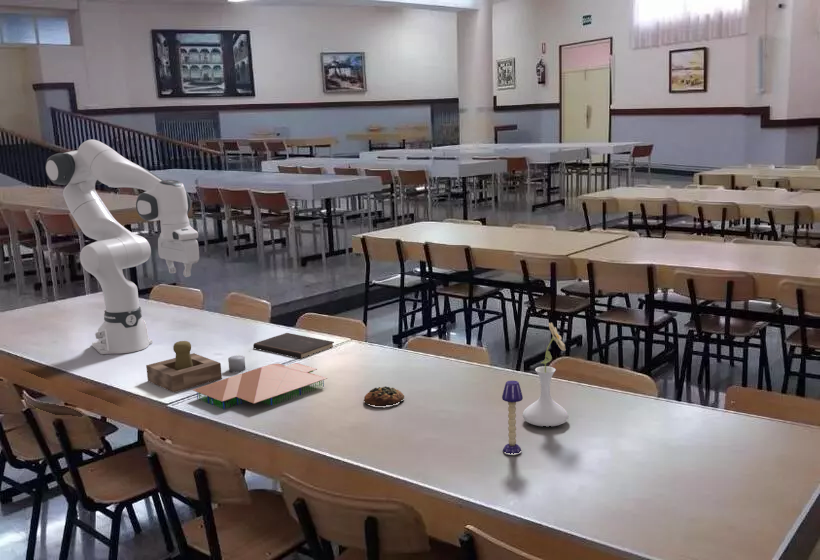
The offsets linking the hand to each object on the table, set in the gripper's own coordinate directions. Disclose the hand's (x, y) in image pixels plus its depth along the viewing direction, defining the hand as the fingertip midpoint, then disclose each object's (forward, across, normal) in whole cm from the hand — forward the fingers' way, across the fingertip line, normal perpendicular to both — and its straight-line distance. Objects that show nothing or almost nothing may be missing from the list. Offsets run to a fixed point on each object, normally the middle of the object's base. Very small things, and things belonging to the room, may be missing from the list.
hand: (179, 274), depth 250 cm
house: (+30, +44, 0) cm, 53 cm away
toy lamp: (+30, +123, +14) cm, 127 cm away
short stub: (+29, +20, +6) cm, 36 cm away
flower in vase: (+30, +118, +34) cm, 126 cm away
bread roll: (+30, +76, +17) cm, 83 cm away
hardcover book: (+30, +14, +32) cm, 46 cm away
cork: (+28, +16, -10) cm, 34 cm away
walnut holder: (+29, +16, -10) cm, 35 cm away
